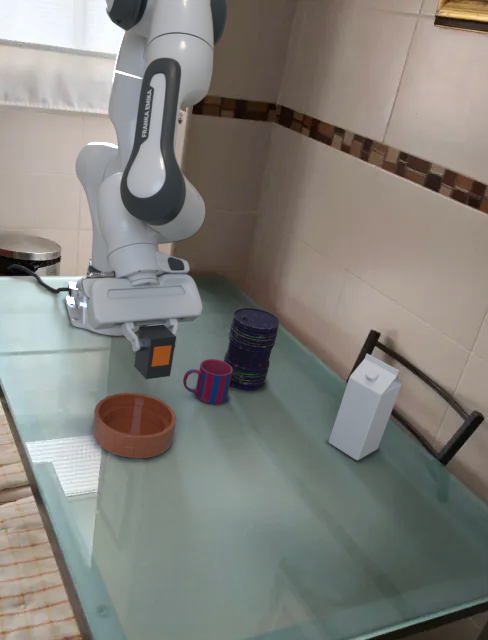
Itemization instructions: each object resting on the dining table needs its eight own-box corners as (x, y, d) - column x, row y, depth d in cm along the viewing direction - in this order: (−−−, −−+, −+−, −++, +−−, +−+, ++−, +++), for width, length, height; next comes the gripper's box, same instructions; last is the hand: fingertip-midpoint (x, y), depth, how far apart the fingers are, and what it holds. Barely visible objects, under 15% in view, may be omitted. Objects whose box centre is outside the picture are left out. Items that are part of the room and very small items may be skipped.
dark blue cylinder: (252, 367, 149) (266, 307, 141) (272, 390, 142) (288, 327, 134) (213, 369, 145) (225, 308, 137) (231, 393, 138) (245, 329, 130)
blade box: (134, 366, 112) (139, 326, 108) (157, 363, 114) (163, 324, 110) (146, 379, 109) (151, 339, 105) (170, 376, 111) (176, 336, 107)
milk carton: (348, 432, 133) (376, 349, 123) (377, 450, 129) (409, 366, 119) (327, 442, 128) (355, 357, 118) (357, 461, 124) (388, 375, 114)
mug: (230, 404, 134) (236, 375, 130) (183, 404, 131) (188, 374, 127) (222, 387, 139) (227, 359, 136) (176, 386, 136) (181, 358, 133)
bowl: (81, 420, 120) (83, 397, 118) (152, 410, 127) (155, 388, 125) (109, 467, 110) (112, 443, 108) (185, 453, 117) (189, 430, 115)
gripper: (85, 265, 103) (104, 349, 101) (196, 261, 113) (215, 337, 112) (72, 280, 108) (91, 360, 107) (180, 275, 118) (198, 348, 117)
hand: (155, 349), depth 109 cm, fingers closed on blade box, 4 cm apart
